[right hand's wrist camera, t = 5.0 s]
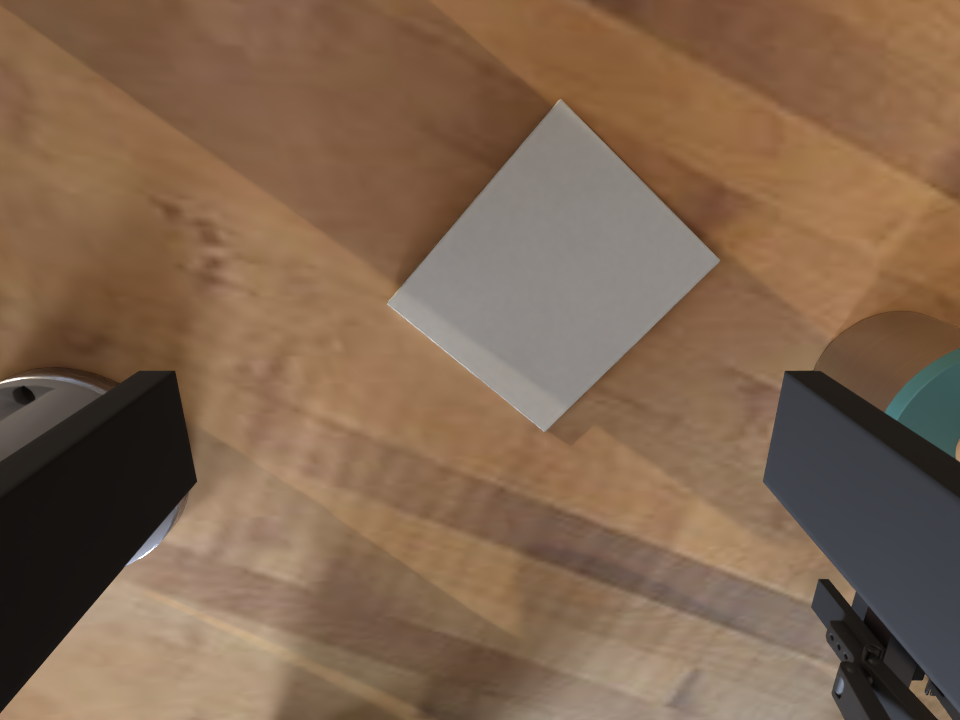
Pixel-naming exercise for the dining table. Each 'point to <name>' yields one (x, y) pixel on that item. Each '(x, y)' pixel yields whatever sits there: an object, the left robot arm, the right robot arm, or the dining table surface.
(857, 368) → the saucepan
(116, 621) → the dining table surface
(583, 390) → the grey mat
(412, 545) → the dining table surface
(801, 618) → the dining table surface
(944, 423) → the lid
